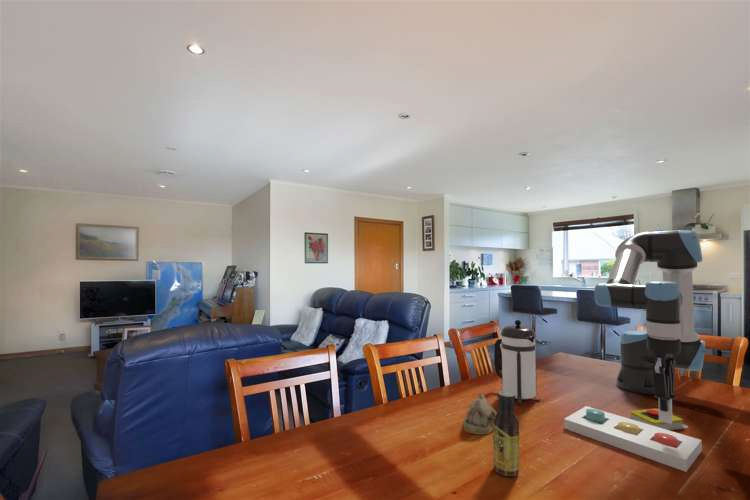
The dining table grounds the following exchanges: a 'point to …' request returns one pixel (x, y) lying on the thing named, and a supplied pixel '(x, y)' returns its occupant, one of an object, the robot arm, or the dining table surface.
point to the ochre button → (628, 428)
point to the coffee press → (517, 361)
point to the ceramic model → (479, 416)
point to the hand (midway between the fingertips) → (665, 421)
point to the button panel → (637, 439)
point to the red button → (666, 439)
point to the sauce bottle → (506, 436)
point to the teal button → (595, 416)
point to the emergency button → (656, 419)
